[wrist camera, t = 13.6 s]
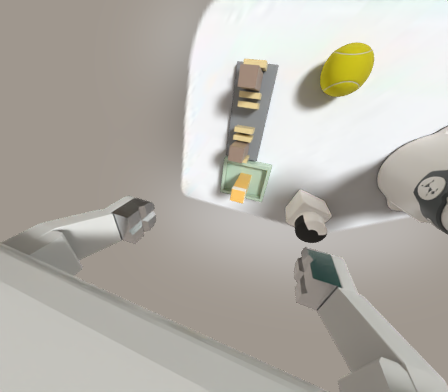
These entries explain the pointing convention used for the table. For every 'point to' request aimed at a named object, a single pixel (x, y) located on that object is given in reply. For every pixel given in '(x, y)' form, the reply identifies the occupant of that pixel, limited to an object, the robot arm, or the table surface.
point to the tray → (253, 168)
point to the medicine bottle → (308, 216)
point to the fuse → (240, 188)
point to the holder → (250, 108)
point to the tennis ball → (346, 69)
